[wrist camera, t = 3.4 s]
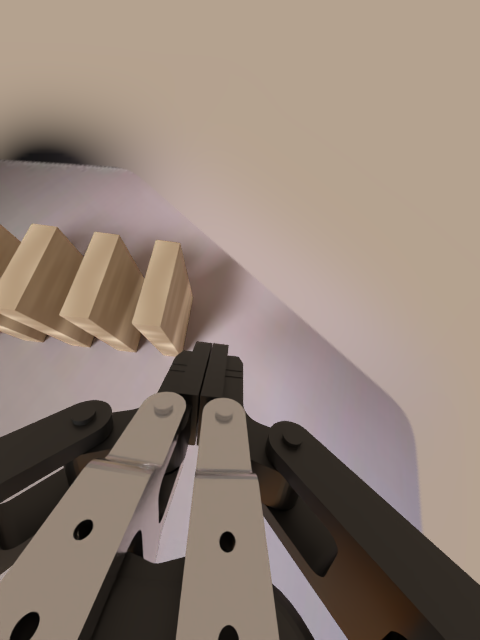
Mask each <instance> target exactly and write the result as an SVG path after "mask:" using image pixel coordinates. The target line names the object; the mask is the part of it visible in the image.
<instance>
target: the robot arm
mask: <svg viewBox="0 0 480 640" xmlns="http://www.w3.org/2000/svg"><path fill="white" fill-rule="evenodd" d="M228 346H229V345H224V344H215V343H213V347H212V343H206V342H198V341H197V342H196V344H195V347H194V349H193V352H192V351H182V352H181V353H180V354H178V355H177V356H176V357H175V359H174V361H173V363H172V365H171V367H170V369H169V371H168V373H167V375H166V377H165V379H164V381H163V383H162V385H161V387H160V389H159V391H158V393H156V394H154V395H152V396H150V397H148V398H147V399H146V400H145V401H144V402H143V403H142V405H141V406H140V408H137V409H133V410H127V411H120V412H113V413H112V409H111V407H110V405H109V404H108V403H106V402H103V401H99V400H91V401H85V402H81V403H78V404H76V405H73V406H71V407H69V408H66V409H64V410H62V411H60V412H57V413H55V414H53V415H50V416H48V417H46V418H44V419H41V420H39V421H37V422H35V423H32V424H30V425H28V426H25V427H23V428H21V429H19V430H16V431H14V432H12V433H9V434H7V435H5V436H3V437H0V503H1V502H3V501H4V500H6V499H7V498H9V497H11V496H12V495H14V494H16V493H18V492H19V491H21V490H23V489H24V488H26V487H28V486H29V485H31V484H33V483H34V482H36V481H38V480H40V479H41V478H43V477H45V476H46V475H48V474H50V473H51V472H53V471H55V470H56V469H58V468H60V467H62V466H64V468H63V469H61V470H60V471H58V472H56V473H55V474H53V475H51V476H50V477H48V478H46V479H45V480H43V481H41V482H40V483H38V484H36V485H35V486H33V487H31V488H30V489H28V490H26V491H25V492H23V493H21V494H20V495H18V496H16V497H15V498H13V499H11V500H10V501H8V502H5V503H3V504H0V574H2V573H3V572H4V571H6V570H7V569H8V568H10V567H11V566H12V565H13V566H12V567H11V568H10V570H9V571H8V572H7V574H6V575H5V577H4V578H3V579H2V581H1V582H0V640H314V638H313V636H312V634H311V633H310V631H309V629H308V628H307V626H306V624H305V623H304V621H303V619H302V618H301V616H300V615H299V613H298V612H297V611H296V609H295V608H294V606H293V605H292V604H291V602H290V601H289V600H288V599H287V598H286V597H285V596H284V595H283V593H282V592H281V591H280V590H279V589H277V588H276V587H275V586H274V585H273V584H272V580H271V573H270V565H269V558H268V550H267V542H266V535H265V527H264V519H263V516H264V517H265V519H266V520H267V522H268V523H269V525H270V526H271V528H272V529H273V531H274V532H275V534H276V535H277V536H278V538H279V539H280V541H281V542H282V544H283V545H284V547H285V548H286V550H287V551H288V553H289V554H290V555H291V557H292V558H293V560H294V561H295V563H296V564H297V566H298V567H299V569H300V570H301V572H302V573H303V574H304V576H305V577H306V579H307V580H308V582H309V583H310V585H311V586H312V588H313V589H314V591H315V592H316V593H317V595H318V596H319V598H320V599H321V601H322V602H323V604H324V605H325V607H326V608H327V610H328V611H329V612H330V614H331V615H332V617H333V618H334V620H335V621H336V623H337V624H338V626H339V627H340V629H341V630H342V631H343V633H344V634H345V636H346V637H347V639H348V640H480V585H479V584H478V583H477V582H475V581H474V580H473V579H472V578H471V577H470V576H469V575H468V574H467V573H466V572H464V571H463V570H462V569H461V568H460V567H459V566H458V565H457V564H455V563H454V562H453V561H452V560H451V559H450V558H449V557H448V556H446V555H445V554H444V553H443V552H442V551H441V550H440V549H439V548H437V547H436V546H435V545H434V544H433V543H432V542H431V541H430V540H429V539H427V538H426V537H425V536H424V535H423V534H422V533H421V532H420V531H419V530H417V529H416V528H415V527H414V526H413V525H412V524H411V523H410V522H409V521H407V520H406V519H405V518H404V517H403V516H402V515H401V514H400V513H398V512H397V511H396V510H395V509H394V508H393V507H392V506H391V505H390V504H388V503H387V502H386V501H385V500H384V499H383V498H382V497H381V496H379V495H378V494H377V493H376V492H375V491H374V490H373V489H372V488H371V487H369V486H368V485H367V484H366V483H365V482H364V481H363V480H362V479H360V478H359V477H358V476H357V475H356V474H355V473H354V472H353V471H351V470H350V469H349V468H348V467H347V466H346V465H345V464H344V463H343V462H341V461H340V460H339V459H338V458H337V457H336V456H335V455H334V454H332V453H331V452H330V451H329V450H328V449H327V448H326V447H325V446H324V445H322V444H321V443H320V442H319V441H318V440H317V439H316V438H315V437H313V436H312V435H311V434H310V433H309V432H308V431H307V430H306V429H304V428H303V427H302V426H300V425H298V424H296V423H293V422H289V421H281V422H277V423H275V424H274V425H273V426H272V427H271V428H270V427H267V426H265V425H262V424H260V423H258V422H256V421H254V420H253V419H251V418H250V417H249V416H248V415H247V413H246V412H245V410H244V407H243V363H242V361H241V360H240V358H239V357H236V356H227V354H228ZM197 433H198V434H197ZM196 437H197V445H198V446H199V449H198V457H197V466H196V472H195V479H194V487H193V496H192V504H191V513H190V522H189V530H188V539H187V548H186V556H185V557H182V558H179V559H175V560H171V561H167V562H163V563H158V564H156V563H155V561H156V557H157V553H158V548H159V543H160V537H161V533H162V529H163V526H164V523H165V520H166V517H167V514H168V511H169V507H170V504H171V501H172V498H173V495H174V492H175V489H176V486H177V483H178V480H179V477H180V474H181V471H182V468H183V460H184V458H185V455H186V451H187V447H188V445H195V442H196Z"/></svg>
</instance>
